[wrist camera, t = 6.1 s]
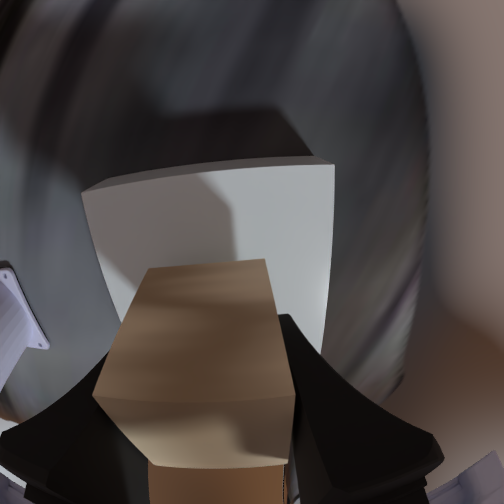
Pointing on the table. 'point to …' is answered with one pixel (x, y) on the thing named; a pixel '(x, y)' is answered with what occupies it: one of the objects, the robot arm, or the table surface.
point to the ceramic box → (221, 227)
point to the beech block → (202, 369)
